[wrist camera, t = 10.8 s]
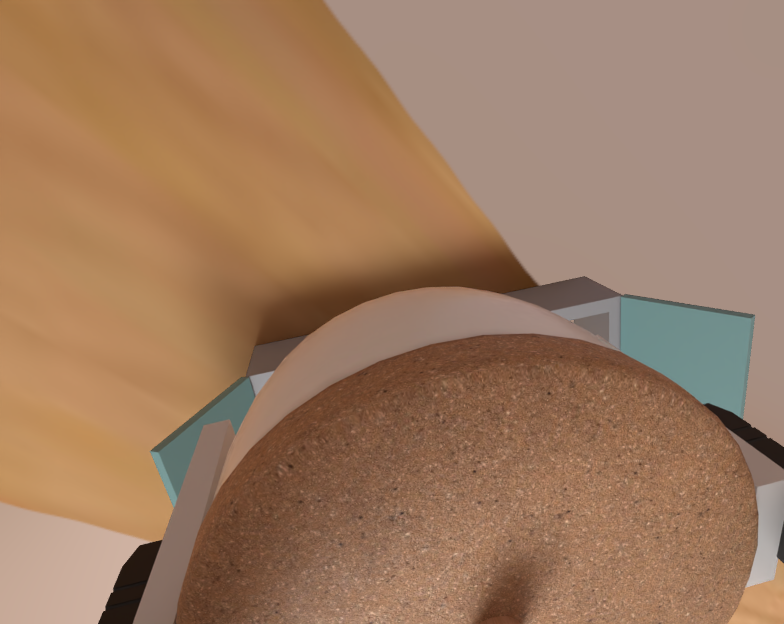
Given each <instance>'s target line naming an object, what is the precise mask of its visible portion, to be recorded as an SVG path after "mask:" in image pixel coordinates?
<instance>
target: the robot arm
mask: <svg viewBox="0 0 784 624" xmlns="http://www.w3.org/2000/svg"><path fill="white" fill-rule="evenodd" d="M595 336H597V337H599V338H600V339H602V340H603V341H605V342H606V343H608V344H609V345H611V346H613V345H612V344H610V343H609V342H608V341H606V340H605V339H603V338H602V337H601V336H599V335H595ZM613 347H614V346H613ZM614 348H616V347H614ZM616 349H617V348H616ZM617 350H618V351H620V350H619V349H617ZM620 352H621V351H620ZM622 353H623V352H622ZM703 405H704V406H706V407H707V408H708V409H709V410H710V411H711V412H713V413H714V414H715V415H716V416H717V417H718V418H719V419H720V420H721V422H722V423H723V424H724V426H725V427H726V428H727V430H728V431H729V432H730V434H731V435H732V436H733V438H734V439H735V440H736V442H737V443H738V445H739V446H740V449H741V451H742V454H743V456H744V458H745V461H746V463H747V465H748V468H749V470H750V472H751V475H752V478H753V481H754V487H755V493H756V500H757V507H758V514H759V516H758V546H757V550H756V554H755V558H754V562H753V566H752V570H751V574H750V577H749V580H748V582H747V585H746V587H749V586H753V585H756V584H760V583H763V582H767V581H770V580H774V576H775V571H776V566H777V561H778V558H779V559H780V560H781V561H782V562H783V563H784V447H783V446H781V445H780V444H778V443H777V442H775V441H774V440H772V439H771V438H769V439H768V438H767V437H766V435H765V434H764V433H762V432H760V431H759V430H757V429H756V428H752V427H751V425H750V424H749V423H747V422H746V421H744V420H743V419H741V418H740V417H739V416H737V415H736V414H734V413H733V412H730V411H728V410H725V409H723V408H720V407H718V406H715V405H712V404H710V403H706V404H703ZM235 436H236V435H235V433H234V430H233V427H232V424H231V421H230V419H229V420H225V421H220V422H216V423H212V424H207V425H204V426H203V428H202V431H201V434H200V437H199V440H198V442H197V445H196V448H195V451H194V454H193V456H192V459H191V462H190V465H189V468H188V470H187V473H186V476H185V479H184V482H183V484H182V487H181V490H180V493H179V495H178V498H177V501H176V504H175V507H174V509H173V512H172V515H171V518H170V521H169V523H168V526H167V529H166V532H165V535H164V537H163V540H160V541H156V542H152V543H148V544H144V545H140V546H139V547H138V548H137V549H136V551H135V552H134V553H133V554H132V556H131V557H130V558H129V559H128V560H127V562H126V563H125V564H124V565H123V567H122V569H121V571H120V574H119V576H118V578H117V581H116V583H115V585H114V588H113V593H111V595H110V597H109V599H108V602H107V604H106V610H105V611H104V612H103V613H102V616H101V618H100V620H99V623H98V624H176V619H177V604H178V600H179V596H180V592H181V588H182V585H183V581H184V578H185V574H186V571H187V567H188V564H189V561H190V557H191V554H192V550H193V547H194V544H195V540H196V537H197V534H198V531H199V528H200V526H201V524H202V522H203V520H204V518H205V516H206V514H207V512H208V510H209V509H210V507H211V505H212V502H213V498H214V495H215V492H216V488H217V485H218V482H219V478H220V475H221V472H222V469H223V466H224V463H225V460H226V457H227V454H228V451H229V449H230V447H231V445H232V442H233V440H234V438H235Z"/></svg>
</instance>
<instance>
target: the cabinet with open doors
mask: <svg viewBox="0 0 784 624" xmlns="http://www.w3.org/2000/svg"><path fill="white" fill-rule="evenodd" d="M503 295H507V296H510V297H513V298H516V299H519V300H523V301H526V302H529V303H532V304H535V305H538V306H540V307H542V308H544V309H546V310H549V311H551V312H553V313H555V314H557V315H559V316H561V317H563V318H565V319H567V320H569V321H570V320H574V324H576V325H578V326H580V327H582V328H584V329H586V330H587V331H589V332H591V333H592V334H594V335H599V336H601V337H602V338H603V339H605V340H606V341H608V342H609V343H610V344H612V345H613V346H614V347H616V348H617V349H619V350H620V351H621V352H623V353H624V354H626V355H628V356H629V357H631V358H633V359H635V360H637V361H639V362H641V363H643V364H645V365H646V366H648V367H650V368H652V369H654V370H656V371H658V372H660V373H661V374H663V375H665V376H666V377H668V378H669V379H671V380H672V381H674V382H675V383H677V384H678V385H679V386H681V387H682V388H683V389H685V390H686V391H687V392H689V393H690V394H691V395H692V396H694V397H695V398H696V399H697V400H698V401H700V402H701V403H702V404H706V403H710V404H712V405H715V406H718V407H720V408H723V409H725V410H728V411H730V412H733V413H734V414H736V415H737V416H739V417H740V418H741V419H743V414H744V406H745V397H746V388H747V380H748V372H749V363H750V354H751V346H752V338H753V329H754V320H755V315H753V314H747V313H740V312H734V311H728V310H721V309H715V308H709V307H702V306H697V305H690V304H684V303H678V302H672V301H665V300H659V299H653V298H646V297H640V296H633V295H627V294H625V295H624V296H623V295H621V294H619V293H617V292H615V291H613V290H611V289H609V288H607V287H605V286H603V285H601V284H599V283H597V282H595V281H593V280H591V279H589V278H587V277H585V276H584V277H580V278H575V279H570V280H565V281H561V282H556V283H551V284H547V285H542V286H537V287H532V288H527V289H523V290H518V291H513V292H508V293H504V294H503ZM307 336H308V335H305V336H300V337H296V338H291V339H286V340H281V341H277V342H272V343H267V344H262V345H258V346H255V347H254V351H253V354H252V357H251V361H250V364H249V367H248V371H247V374H246V377H241V378H240V379H238V380H237V381H236V382H235V383H233V384H232V385H231V386H230V387H229V388H227V389H226V390H225V391H224V392H222V393H221V394H220V395H219V396H217V397H216V398H215V399H214V400H212V401H211V402H210V403H209V404H208V405H206V406H205V407H204V408H203V409H201V410H200V411H199V412H198V413H196V414H195V415H194V416H193V417H191V418H190V419H189V420H188V421H187V422H185V423H184V424H183V425H182V426H180V427H179V428H178V429H177V430H175V431H174V432H173V433H172V434H170V435H169V436H168V437H167V438H166V439H164V440H163V441H162V442H161V443H159V444H158V445H157V446H156V447H154V448H153V449H152V450H151V451H150V453H151V455H152V457H153V460H154V462H155V464H156V467H157V469H158V471H159V474H160V476H161V479H162V481H163V483H164V486H165V488H166V490H167V493H168V495H169V497H170V500H171V502H172V505H173V507H175V504H176V501H177V498H178V495H179V493H180V490H181V487H182V484H183V482H184V479H185V476H186V473H187V470H188V468H189V465H190V462H191V459H192V456H193V454H194V451H195V448H196V445H197V442H198V440H199V437H200V434H201V431H202V428H203V426H204V425H207V424H212V423H216V422H220V421H225V420H229V419H230V421H231V424H232V427H233V430H234V433H235V435H236V434H237V432H238V430H239V428H240V426H241V424H242V422H243V420H244V418H245V416H246V414H247V412H248V410H249V408H250V407H251V405H252V403H253V401H254V399H255V397H256V396H257V394H258V393H259V392H260V390H261V389H262V388H263V386H264V385H265V383H266V382H267V381H268V379H269V378H270V377H271V375H272V374H273V373H274V372H275V370H276V369H277V368H278V366H279V365H280V364H281V362H282V361H283V360H284V358H285V357H286V356H287V355H288V354H289V353H290V352H291V351H292V350H293V349H295V348H296V347H297V346H298V345H299V344H300V343H301V342H302V341H303V340H304V339H305V338H306V337H307Z"/></svg>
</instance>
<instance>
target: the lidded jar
mask: <svg viewBox="0 0 784 624" xmlns="http://www.w3.org/2000/svg"><path fill="white" fill-rule="evenodd" d="M758 516H759V514H758V507H757V500H756V493H755V487H754V481H753V478H752V475H751V472H750V470H749V468H748V465H747V463H746V461H745V458H744V456H743V454H742V451H741V449H740V446H739V445H738V443H737V442H736V440H735V439H734V438H733V436H732V435H731V434H730V432H729V431H728V430H727V428H726V427H725V426H724V424H723V423H722V422H721V420H720V419H719V418H718V417H717V416H716V415H715V414H714V413H713V412H711V411H710V410H709V409H708V408H707V407H706V406H704V405H703V404H702V403H701V402H700V401H698V400H697V399H696V398H695V397H694V396H692V395H691V394H690V393H689V392H687V391H686V390H685V389H683V388H682V387H681V386H679V385H678V384H677V383H675V382H674V381H672V380H671V379H669V378H668V377H666V376H665V375H663V374H661V373H660V372H658V371H656V370H654V369H652V368H650V367H648V366H646V365H645V364H643V363H641V362H639V361H637V360H635V359H633V358H631V357H629V356H628V355H626V354H624V353H622V352H620V351H618V350H617V349H616V348H614V347H613V346H611V345H609V344H608V343H606V342H605V341H603V340H602V339H600V338H599V337H597V336H595V335H594V334H592V333H591V332H589V331H587V330H586V329H584V328H582V327H580V326H578V325H576V324H574V323H572V322H571V321H569V320H567V319H565V318H563V317H561V316H559V315H557V314H555V313H553V312H551V311H549V310H546V309H544V308H542V307H540V306H538V305H535V304H532V303H529V302H526V301H523V300H519V299H516V298H513V297H510V296H507V295H503V294H499V293H495V292H491V291H486V290H479V289H472V288H465V287H425V288H419V289H413V290H407V291H401V292H395V293H392V294H389V295H386V296H383V297H380V298H377V299H373V300H370V301H367V302H364V303H362V304H360V305H358V306H356V307H354V308H352V309H350V310H348V311H346V312H344V313H342V314H340V315H338V316H336V317H334V318H333V319H331V320H330V321H328V322H327V323H325V324H324V325H323V326H321V327H320V328H318V329H317V330H315V331H314V332H313V333H311V334H310V335H308V336H307V337H306V338H305V339H304V340H303V341H302V342H301V343H300V344H299V345H298V346H297V347H296V348H295V349H293V350H292V351H291V352H290V353H289V354H288V355H287V356H286V357H285V358H284V360H283V361H282V362H281V364H280V365H279V366H278V368H277V369H276V370H275V372H274V373H273V374H272V375H271V377H270V378H269V379H268V381H267V382H266V383H265V385H264V386H263V388H262V389H261V390H260V392H259V393H258V394H257V396H256V397H255V399H254V401H253V403H252V405H251V407H250V408H249V410H248V412H247V414H246V416H245V418H244V420H243V422H242V424H241V426H240V428H239V430H238V432H237V434H236V436H235V438H234V440H233V442H232V445H231V447H230V449H229V451H228V454H227V457H226V460H225V463H224V466H223V469H222V472H221V475H220V478H219V482H218V485H217V488H216V492H215V495H214V498H213V502H212V505H211V507H210V509H209V510H208V512H207V514H206V516H205V518H204V520H203V522H202V524H201V526H200V528H199V531H198V534H197V537H196V540H195V544H194V547H193V550H192V554H191V557H190V561H189V564H188V567H187V571H186V574H185V578H184V581H183V585H182V588H181V592H180V596H179V600H178V604H177V619H176V624H727V623H728V622H729V620H730V618H731V617H732V615H733V613H734V612H735V610H736V609H737V607H738V605H739V602H740V600H741V597H742V595H743V592H744V590H745V587H746V585H747V582H748V580H749V577H750V574H751V570H752V566H753V562H754V558H755V554H756V550H757V546H758Z"/></svg>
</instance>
